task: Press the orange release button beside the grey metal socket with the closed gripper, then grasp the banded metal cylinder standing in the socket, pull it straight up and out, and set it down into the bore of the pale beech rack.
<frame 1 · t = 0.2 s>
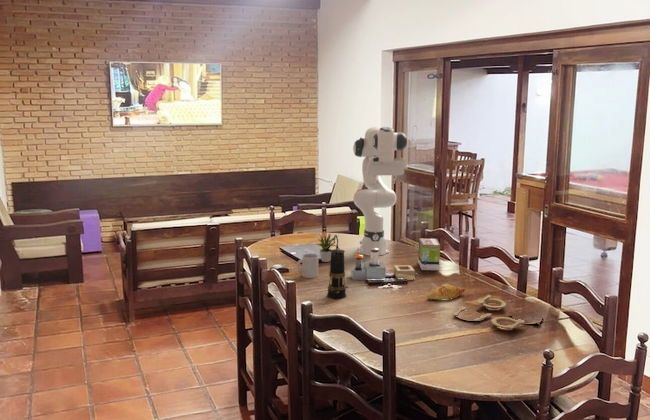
hand: (384, 183, 330), 48 cm above the table, fingers open, 8 cm apart
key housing: (358, 277, 322), on the table
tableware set: (498, 319, 268), on the table
house plant: (326, 261, 352), on the table
drift key: (358, 263, 320), point 8 cm above the table, slide at 0.0 cm
lantern: (336, 296, 294), on the table
mug: (307, 276, 324), on the table
socket block: (374, 277, 322), on the table
croissant: (445, 297, 294), on the table
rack: (403, 277, 324), on the table
banded metal cylinder: (374, 274, 322), point 2 cm above the table, touching socket block
tea box: (428, 267, 343), on the table
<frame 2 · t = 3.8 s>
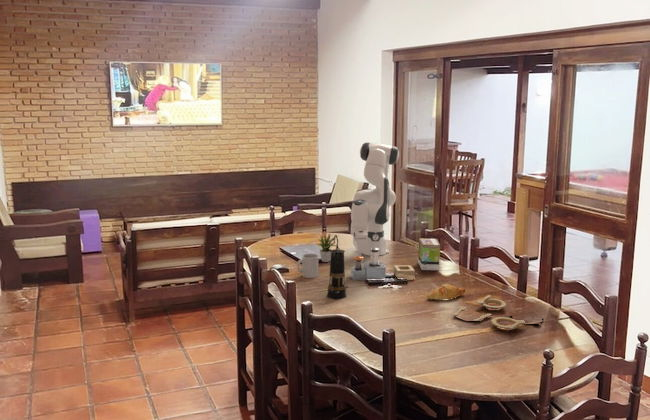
hand: (358, 257, 319), 11 cm above the table, fingers closed, pressing on drift key
drift key: (358, 265, 320), point 7 cm above the table, slide at 1.1 cm, touching gripper
everything else where it was.
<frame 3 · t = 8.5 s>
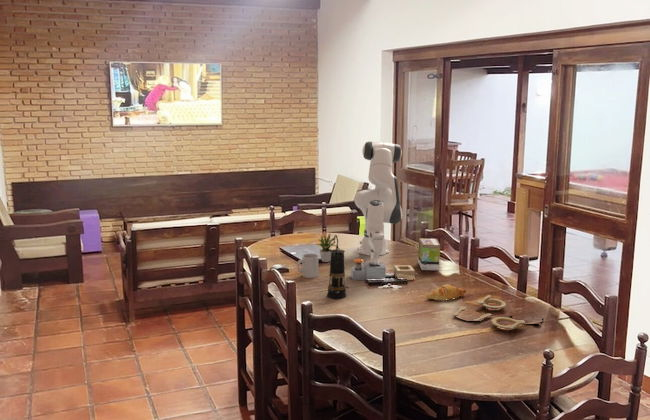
hand: (374, 257, 320), 11 cm above the table, fingers closed on banded metal cylinder, 4 cm apart
drift key: (358, 268, 321), point 5 cm above the table, slide at 2.6 cm
banded metal cylinder: (374, 274, 322), point 2 cm above the table, touching gripper, socket block
everything else where it was.
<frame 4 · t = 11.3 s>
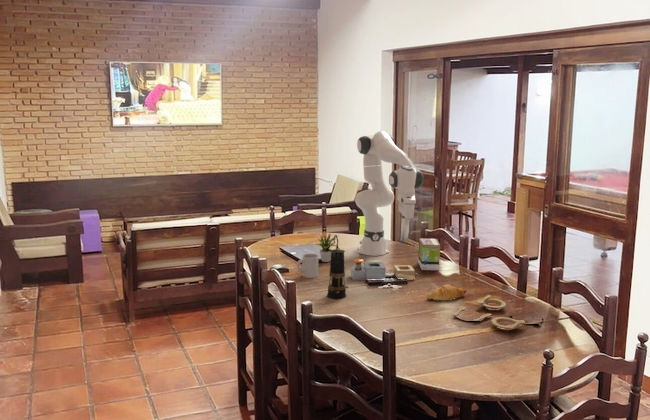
hand: (405, 223, 318), 29 cm above the table, fingers closed on banded metal cylinder, 4 cm apart
banded metal cylinder: (404, 240, 320), point 20 cm above the table, touching gripper
everything else where it was.
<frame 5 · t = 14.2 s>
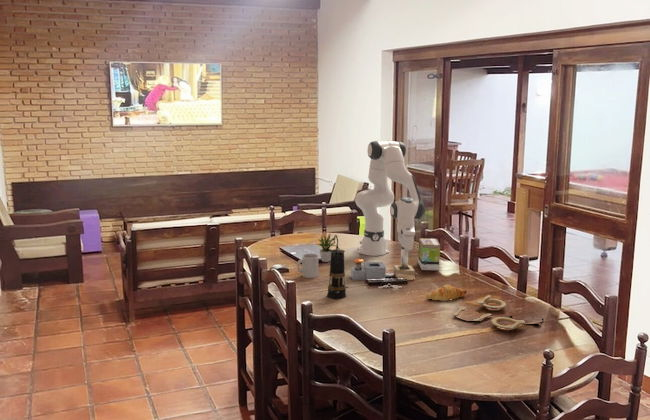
hand: (404, 254, 322), 13 cm above the table, fingers closed on banded metal cylinder, 4 cm apart
banded metal cylinder: (404, 271, 323), point 3 cm above the table, touching gripper
when the fingers open (13 cm above the table, at t = 14.3 s): banded metal cylinder drops 2 cm, resting on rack.
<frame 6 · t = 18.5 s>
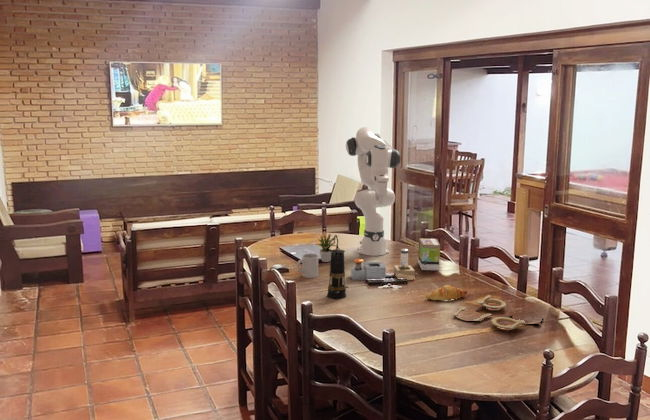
hand: (379, 202, 323), 39 cm above the table, fingers open, 8 cm apart
banded metal cylinder: (403, 275, 324), point 1 cm above the table, touching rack
at the end: banded metal cylinder 0.1 cm off-centre on the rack, point 1.0 cm above the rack's base; banded metal cylinder tilted 1°; drift key slide at 2.6 cm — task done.
